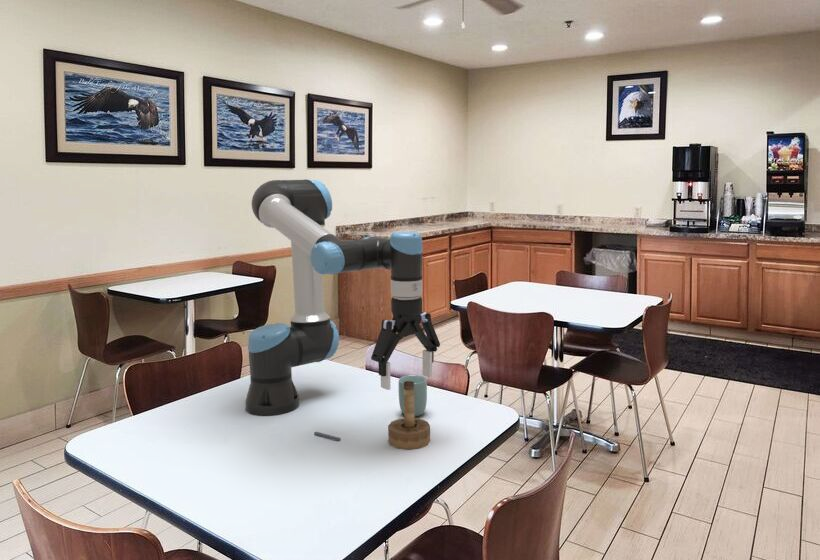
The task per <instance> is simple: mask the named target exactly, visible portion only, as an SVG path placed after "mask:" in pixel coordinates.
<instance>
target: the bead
mask: <svg viewBox="0 0 820 560" xmlns="http://www.w3.org/2000/svg"><path fill="white" fill-rule="evenodd" d="M414 418H415V428H410V429H407V428H405V426H404V418H398V419H394V420H392V421H391V422H390V423H389V424H388V425H387V428H388V429H387V432H388V437H387V439H388V443H389V445H390V446H392V447H394V448H396V449H401V450H417V449H420V448H424V447H426V446H428V445H429V443H430V442H431V425H430V423H429V422H428V421H427V420H425V419H422V418H419V417H418V418H417V417H414Z"/></svg>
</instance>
